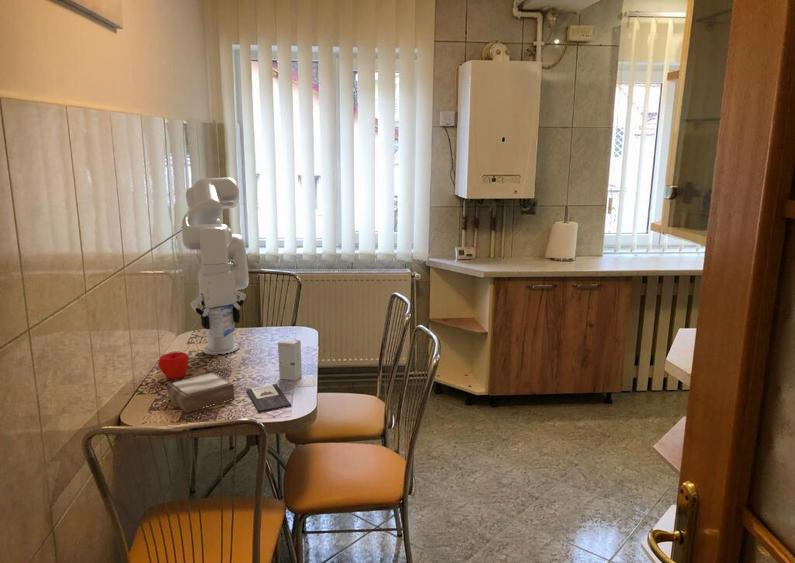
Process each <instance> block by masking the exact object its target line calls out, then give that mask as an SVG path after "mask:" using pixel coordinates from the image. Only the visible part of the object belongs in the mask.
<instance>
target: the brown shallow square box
mask: <svg viewBox="0 0 795 563" xmlns="http://www.w3.org/2000/svg"><path fill="white" fill-rule="evenodd" d="M234 388H235V387H234V383H232V382H230V381H229V380H228V379H226V378H224V377H223V376H220V375H219V374H217V373H216V372H214V371H213V372H212V371H211V372H209V373H208V372H207V373H204V374H201V375H198V376H193V377H190V378H185V379H182V380H178V381H173V382H169V383H167V391H168V399H169V401H171V402H172V403H174V405H176V406H177V407H178V408H179V409H181V410H182V409H183V410H184V411H183V410H182V411H183V412H185V413H186V412H187V413H186V414H189V413H188V412H190V413H192V412H191V411H194V410H197V409H200V408H203V407H206V406H210V405H213V404H217V403H221V402H224V401H227V400H230V399H234V398H235V389H234ZM234 400H235V399H234ZM224 403H225V402H224ZM221 404H222V403H221ZM217 405H218V404H217ZM197 411H198V410H197ZM194 412H195V411H194Z"/></svg>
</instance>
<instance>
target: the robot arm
mask: <svg viewBox="0 0 795 563" xmlns="http://www.w3.org/2000/svg"><path fill="white" fill-rule="evenodd" d="M239 197H240V189H239V185H238V183H237V181H236V180H235V179H234V178H232V177H229V176H227V177H207V178H205V177H204V178H200V179H199V180H197V181H196V182H195V183H194V185H193V186H191V187H188V188H187V189H186V192H185V199H186V203H187V206H188V209H189V210H188V211H187V212H185V214H184V215H183V217H182V221H181V237H182V242H183V245H184V247H185V248H186V249H187V250H189V251H199V255H200V258H201V267H202V268H200V269H199V271H198V275H197V279H198V281H197V282H198V284H199V286H198V292H199V293H198V294H199V296H197V297H196V298H194V299H193V300H192V301H191V302H190V303H189V305H190V306H191V308H192V309H193V311H194V312H195V313H197V314H198V315H199V316H200V323H201V327H203V329H205V333H206V344H207V346H205V347H204V348H203V353H204V354H206V355H209V354H210V355H209V356H219V355H218V354H222V355H227V354H226V353H228V354H231V353H230V352H232V353H234V352H233V351H235V350H237V349H238V348H239V349H240V345H239V343H237V342H235V335H234V331H233V332H231V333H230V334H228V335H227V336H225V337H224V338H218V337H217V338H216V337H210V332H209V329H210V325H209V317H208V315H207V313H208V312H209V310H210V309H212V308H217V307H223V306H228V305H232V307H233V318H234V323H236V324H239V323H240V319H241V317H240V315H241V314H240V310H241V307H242V306H243V304H244V303H245V300H246V297H247V293H245V292H242V291H240V290H244V289H246V288H247V287H248V285H249V283H250V282H249V281H250V279H249V277H250V276H249V268H248V258H247V250H246V244H245V241H244V238H243V237H242V235H241V234H238V233H232V229H231V228H230V227H229V226H228V225H227V224H225V223H222V221H221V219H220V218H221V216H222V214H223V213H224V212H223V211H224V210H223V209H234V208H236V207H237V205H238V203H239V199H240V198H239ZM230 261H232V262H230ZM238 296H239V299H238ZM199 304H200V307H201V308H200V307H199V306H198V305H199ZM239 349H238V350H239ZM238 350H237V351H238ZM235 352H236V351H235Z"/></svg>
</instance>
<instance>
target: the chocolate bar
mask: <svg viewBox="0 0 795 563" xmlns="http://www.w3.org/2000/svg"><path fill="white" fill-rule="evenodd" d="M247 391H248V392H247ZM246 392H247V394H248V393H249V394H248V396H249V395H250V396H249V398H250V397H251V398H250V399H251V402H252V403H253V405H254V406H256V407H255V409H256V410H257V412H258V413H264V412H270V411H273V410H278V409H279V408H280V409H284V408H283V407H285V408H289V407H288V406H290V407H292V404H291V402H290V400H288V398H287V397H286V396H285V394H284V392H283V391H282V390H281V388H280V387H279V385H278V384H277V383H275V384H268V385H263V386H258V387H252V388H247V389H246Z"/></svg>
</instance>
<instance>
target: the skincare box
mask: <svg viewBox="0 0 795 563" xmlns="http://www.w3.org/2000/svg"><path fill="white" fill-rule="evenodd" d="M301 342H302V341H301V339H292V338H283V339H281V340H280V341H278V342H277V350H278V352H277V353H278V354H277V356H278V372H279V373H278V374H279V376H278V377H279V379H281V380H287V381H288V380H289V381H297V380H298V379H301V377H302V376H303V374H302V370H303V369H302V346H301V345H302V343H301Z"/></svg>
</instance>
